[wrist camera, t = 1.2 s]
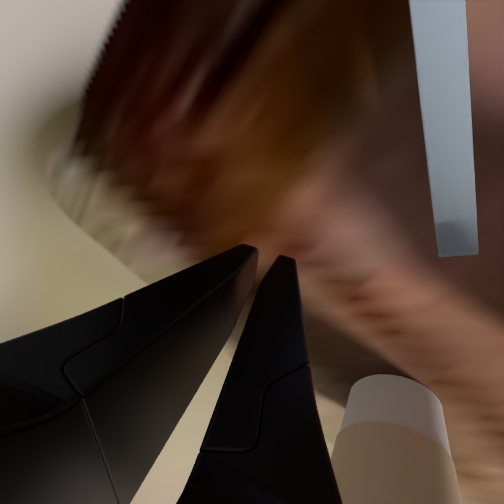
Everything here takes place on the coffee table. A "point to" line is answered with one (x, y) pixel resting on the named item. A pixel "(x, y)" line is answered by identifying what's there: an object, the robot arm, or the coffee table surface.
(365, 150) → the coffee table surface
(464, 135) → the gate
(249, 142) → the coffee table surface
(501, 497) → the coffee table surface
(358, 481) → the coffee cup
